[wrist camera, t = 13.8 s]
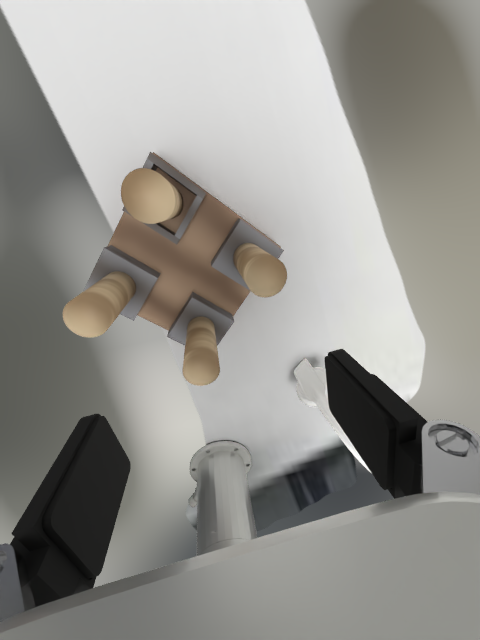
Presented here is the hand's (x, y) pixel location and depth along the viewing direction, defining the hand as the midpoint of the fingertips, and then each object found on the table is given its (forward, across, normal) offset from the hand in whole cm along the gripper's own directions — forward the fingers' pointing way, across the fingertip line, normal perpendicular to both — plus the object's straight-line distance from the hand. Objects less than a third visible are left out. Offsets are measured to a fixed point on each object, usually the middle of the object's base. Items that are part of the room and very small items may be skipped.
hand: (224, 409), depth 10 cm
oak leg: (+24, +2, -10) cm, 26 cm away
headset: (+29, -16, +27) cm, 43 cm away
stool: (+28, +2, -2) cm, 28 cm away
